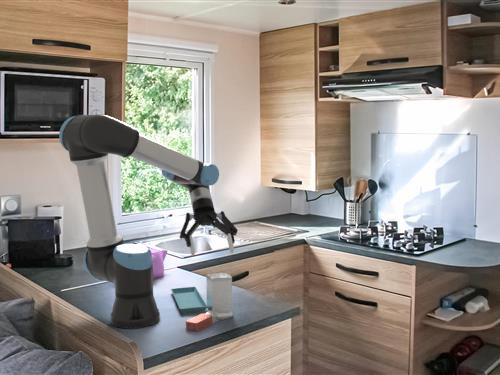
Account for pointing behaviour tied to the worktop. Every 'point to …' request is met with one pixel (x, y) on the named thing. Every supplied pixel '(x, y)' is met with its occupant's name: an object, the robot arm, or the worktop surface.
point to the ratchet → (206, 320)
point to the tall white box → (219, 293)
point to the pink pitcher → (158, 262)
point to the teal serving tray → (189, 300)
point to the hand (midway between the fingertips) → (213, 252)
